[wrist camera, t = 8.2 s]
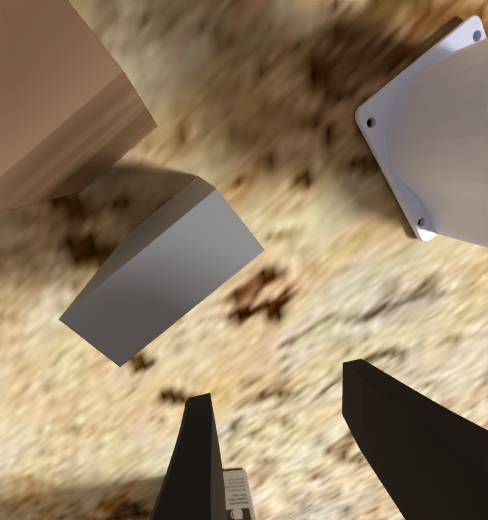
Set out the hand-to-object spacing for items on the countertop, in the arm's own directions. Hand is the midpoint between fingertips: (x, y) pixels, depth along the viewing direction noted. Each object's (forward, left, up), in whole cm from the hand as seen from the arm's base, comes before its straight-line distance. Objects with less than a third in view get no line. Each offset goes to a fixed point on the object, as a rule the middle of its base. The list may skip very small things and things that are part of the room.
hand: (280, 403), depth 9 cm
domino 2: (+5, 0, -9) cm, 11 cm away
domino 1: (+10, 0, -9) cm, 14 cm away
